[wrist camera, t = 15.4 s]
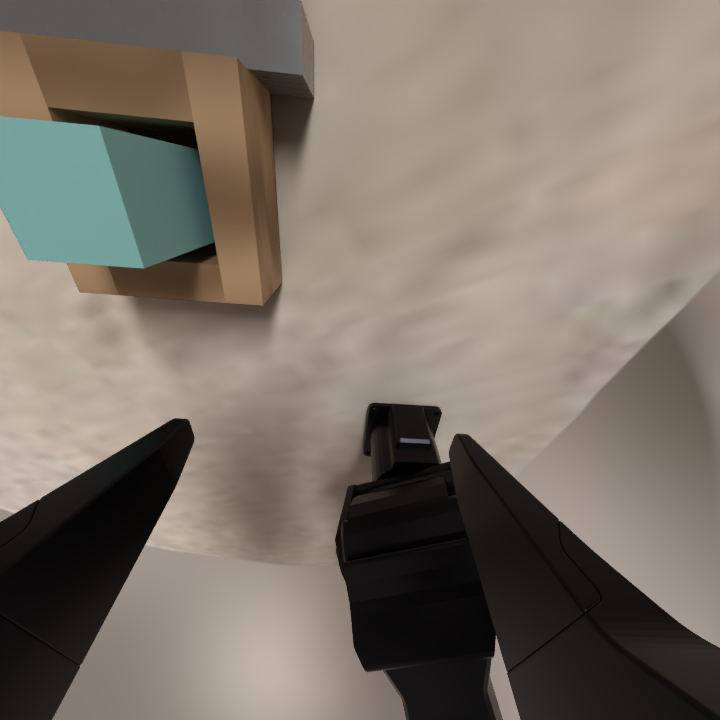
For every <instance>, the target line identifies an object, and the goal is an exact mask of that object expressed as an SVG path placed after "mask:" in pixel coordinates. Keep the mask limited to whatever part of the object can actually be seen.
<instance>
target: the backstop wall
mask: <svg viewBox="0 0 720 720" xmlns="http://www.w3.org/2000/svg"><path fill="white" fill-rule="evenodd" d="M0 31H7V32H16V33H25V34H34V35H43V36H52V37H61V38H70V39H79V40H87V41H96V42H105V43H114V44H123V45H132V46H141V47H150V48H159V49H168V50H177V51H186V52H195V53H203V54H212V55H221V56H230V57H237V58H238V59H239V60H240V61H241V62H242V63H243V64H244V66H245V67H246V68H247V69H248V70H249V71H250V72H251V73H252V74H253V75H254V76H255V77H256V78H257V79H258V80H259V82H260V83H261V84H262V85H263V86H264V87H265V88H266V89H267V90H268V91H269V92H270V94H279V95H288V96H297V97H307V98H314V41H313V38H312V34H311V31H310V28H309V25H308V21H307V18H306V15H305V12H304V8H303V5H302V2H301V0H0Z"/></svg>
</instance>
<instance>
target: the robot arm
mask: <svg viewBox="0 0 720 720" xmlns="http://www.w3.org/2000/svg"><path fill="white" fill-rule="evenodd" d="M373 408H376V409H373ZM434 412H436V413H434ZM441 415H442V412H441V409H440V408H439V407H435V406H418V405H401V404H384V403H372V404H370V405H369V409H368V417H367V425H366V433H365V441H364V449H363V453H364V455H366V456H371V463H372V482H368V483H364V484H360V485H351V486H348V490H347V494H346V497H345V501H344V505H343V509H342V513H341V517H340V521H339V525H338V530H337V534H336V538H335V542H336V547H337V548H336V554H337V557H338V561H339V566H340V569H341V573H342V575H343V577H344V580H345V581H346V585H347V591H348V596H349V602H350V611H351V621H352V632H353V643H354V648H355V651H356V653H357V655H358V657H359V659H360V662H361V664H362V666H363V668H364V669H365V671H367V672H372V671H381V670H383V671H384V673H385V674H386V676H387V677H388V679H389V680H390V682H391V683H392V685H393V686H394V688H395V689H396V691H397V692H398V694H399V695H400V697H401V699H402V701H403V706H404V710H405V715H406V720H503V719H502V716H501V712H500V709H499V706H498V702H497V699H496V696H495V692H494V689H493V686H492V682H491V679H490V675H489V673H490V665H491V658H493V657H494V652H495V639H496V636H497V639H498V643H499V646H500V650H501V653H502V657H503V660H504V663H505V667H506V670H507V671H508V673H507V674H508V678H509V681H510V685H511V688H512V691H513V695H514V699H515V702H516V705H517V709H518V712H519V715H520V719H521V720H720V648H719V647H717V646H715V645H713V644H711V643H709V642H708V641H706V640H704V639H703V638H701V637H699V636H698V635H696V634H695V633H693V632H692V631H690V630H689V629H687V628H686V627H685V626H683V625H682V624H680V623H679V622H678V621H676V620H675V619H674V618H673V617H671V616H670V615H669V614H668V613H667V612H665V611H664V610H663V609H662V608H661V607H659V606H658V605H657V604H656V603H655V602H653V601H652V600H651V599H650V598H649V597H647V596H646V595H645V594H644V593H643V592H641V591H640V590H639V589H638V588H636V587H635V586H634V585H633V584H632V583H630V582H629V581H628V580H627V579H626V578H625V577H623V576H622V575H621V574H620V573H619V572H617V571H616V570H615V569H614V568H613V567H611V566H610V565H609V564H608V563H607V562H606V561H604V560H603V559H602V558H601V557H600V556H599V555H597V554H596V553H595V552H594V551H593V550H591V549H590V548H589V547H588V546H587V545H586V544H585V543H584V542H583V541H582V540H580V539H579V538H578V537H577V536H576V535H575V534H574V533H573V532H572V531H571V530H570V529H569V528H567V527H566V526H565V525H564V524H563V523H562V522H561V521H559V520H558V518H557V517H556V516H555V515H553V514H552V513H551V512H550V511H549V510H548V509H547V508H546V507H545V506H544V505H543V504H542V503H541V502H540V501H539V500H537V499H536V498H535V497H534V496H533V495H532V494H531V493H530V492H529V491H528V490H527V489H526V488H525V487H524V486H523V485H522V484H520V483H519V482H518V481H517V480H516V479H515V478H514V477H513V476H512V475H511V474H510V473H509V472H508V471H507V470H506V469H504V468H503V467H502V466H501V465H500V464H499V463H498V462H497V461H496V460H495V459H494V458H493V457H492V456H491V455H490V454H488V453H487V452H486V451H485V450H484V449H483V448H482V447H481V446H480V445H479V444H478V443H477V442H476V441H475V440H474V439H472V438H471V437H470V436H469V435H467V434H456V435H455V436H454V439H453V441H452V444H451V447H450V450H449V458H450V462H446V463H441V459H440V456H439V453H438V450H437V446H436V443H435V440H434V437H435V434H436V431H437V428H438V424H439V421H440V418H441ZM193 443H194V434H193V431H192V428H191V425H190V422H189V420H188V419H179V418H175V419H172V420H170V421H169V422H167V423H165V424H164V425H162V426H160V427H159V428H157V429H155V430H154V431H152V432H150V433H149V434H147V435H145V436H144V437H142V438H140V439H139V440H137V441H135V442H134V443H132V444H130V445H129V446H127V447H125V448H124V449H122V450H120V451H119V452H117V453H115V454H114V455H112V456H110V457H109V458H107V459H105V460H104V461H102V462H100V463H99V464H97V465H95V466H94V467H92V468H90V469H89V470H87V471H85V472H84V473H82V474H80V475H79V476H77V477H75V478H74V479H72V480H70V481H69V482H67V483H65V484H64V485H62V486H60V487H59V488H57V489H55V490H54V491H52V492H50V493H49V494H47V495H45V496H43V497H42V498H41V499H40V500H37V501H35V502H33V503H32V504H30V505H28V506H27V507H25V508H23V509H22V510H20V511H18V512H17V513H15V514H13V515H11V516H10V517H8V518H7V519H5V520H3V521H1V522H0V720H52V719H53V717H54V715H55V713H56V711H57V709H58V708H59V706H60V704H61V702H62V700H63V698H64V696H65V694H66V693H67V690H68V689H69V687H70V685H71V683H72V681H73V679H74V678H75V676H76V674H77V672H78V670H79V668H80V666H79V665H81V664H82V662H83V660H84V658H85V656H86V654H87V653H88V651H89V649H90V647H91V645H92V643H93V641H94V640H95V638H96V636H97V634H98V632H99V630H100V628H101V626H102V624H103V623H104V621H105V619H106V617H107V615H108V613H109V611H110V609H111V607H112V606H113V604H114V602H115V600H116V598H117V596H118V594H119V593H120V590H121V589H122V587H123V585H124V583H125V581H126V579H127V578H128V576H129V574H130V572H131V570H132V568H133V566H134V564H135V563H136V561H137V559H138V557H139V555H140V553H141V551H142V549H143V548H144V546H145V544H146V542H147V540H148V538H149V536H150V534H151V533H152V531H153V529H154V527H155V525H156V523H157V521H158V519H159V518H160V516H161V514H162V512H163V510H164V508H165V506H166V504H167V502H168V501H169V499H170V497H171V495H172V493H173V491H174V489H175V487H176V485H177V483H178V480H179V478H180V475H181V473H182V470H183V468H184V466H185V463H186V461H187V458H188V456H189V453H190V451H191V448H192V446H193Z"/></svg>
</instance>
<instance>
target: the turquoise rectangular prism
mask: <svg viewBox="0 0 720 720" xmlns="http://www.w3.org/2000/svg"><path fill="white" fill-rule="evenodd" d="M0 208H1V210H2V212H3V213H4V215H5V217H6V219H7V221H8V223H9V225H10V227H11V229H12V231H13V233H14V235H15V237H16V238H17V240H18V242H19V244H20V246H21V248H22V250H23V252H24V254H25V256H26V258H27V260H37V261H51V262H64V263H77V264H90V265H104V266H117V267H130V268H147V267H150V266H152V265H155V264H158V263H160V262H163V261H166V260H168V259H171V258H174V257H176V256H179V255H182V254H184V253H187V252H189V251H192V250H195V249H197V248H200V247H203V246H205V245H208V244H211V243H213V242H215V240H214V234H213V229H212V223H211V217H210V212H209V206H208V200H207V195H206V189H205V184H204V178H203V172H202V167H201V161H200V155H199V150H198V149H194V148H190V147H186V146H182V145H177V144H173V143H169V142H165V141H161V140H156V139H152V138H148V137H144V136H140V135H136V134H131V133H127V132H123V131H119V130H115V129H110V128H106V127H102V126H96V125H86V124H76V123H65V122H55V121H44V120H34V119H24V118H13V117H3V116H0Z"/></svg>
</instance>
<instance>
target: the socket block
mask: <svg viewBox="0 0 720 720" xmlns="http://www.w3.org/2000/svg"><path fill="white" fill-rule="evenodd" d="M0 116H3V117H13V118H24V119H34V120H44V121H55V122H65V123H76V124H86V125H96V126H102V127H106V128H110V129H115V130H119V131H123V132H127V133H129V131H128V128H134V129H144V130H154V131H164V132H174V133H184V134H194V135H196V139H197V144H198V150H199V155H200V161H201V167H202V172H203V178H204V184H205V189H206V195H207V200H208V206H209V212H210V217H211V223H212V229H213V234H214V240H215V245H216V246H211V245H205V246H203V247H200V248H197V249H195V250H192V251H189V252H187V253H184V254H182V255H179V256H176V257H174V258H171V259H168V260H166V261H163V262H160V263H158V264H155V265H152V266H150V267H147V268H130V267H117V266H104V265H90V264H77V263H67V265H68V268H69V270H70V272H71V274H72V276H73V279H74V281H75V283H76V285H77V287H78V290H79V292H83V293H97V294H111V295H124V296H138V297H152V298H165V299H179V300H193V301H206V302H220V303H234V304H247V305H261V306H263V305H264V304H265V303H266V301H267V300H268V299H269V298H270V296H271V295H272V294H273V293H274V291H275V290H276V289H277V288H278V287H279V285H280V284H281V283H282V272H281V257H280V241H279V226H278V211H277V195H276V180H275V165H274V150H273V134H272V119H271V104H270V92H269V91H268V90H267V89H266V88H265V87H264V86H263V85H262V84H261V83H260V82H259V80H258V79H257V78H256V77H255V76H254V75H253V74H252V73H251V72H250V71H249V70H248V69H247V68H246V67H245V66H244V64H243V63H242V62H241V61H240V60H239V59H238V58H237V57H230V56H221V55H212V54H203V53H195V52H186V51H177V50H168V49H159V48H150V47H141V46H132V45H123V44H114V43H105V42H96V41H87V40H79V39H70V38H61V37H52V36H43V35H34V34H25V33H16V32H7V31H0Z"/></svg>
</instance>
